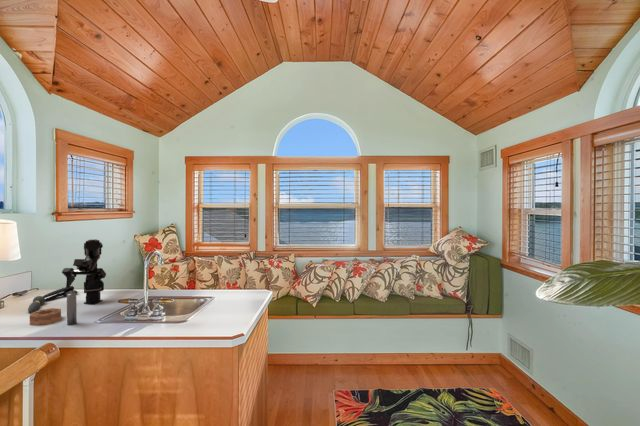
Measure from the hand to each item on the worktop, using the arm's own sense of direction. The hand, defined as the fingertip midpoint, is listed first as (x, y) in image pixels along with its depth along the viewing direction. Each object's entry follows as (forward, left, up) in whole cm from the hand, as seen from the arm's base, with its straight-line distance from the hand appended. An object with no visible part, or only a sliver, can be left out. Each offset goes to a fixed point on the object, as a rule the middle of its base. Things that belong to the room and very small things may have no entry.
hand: (76, 287), depth 162 cm
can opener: (-23, -34, -14) cm, 44 cm away
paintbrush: (-6, -30, -14) cm, 33 cm away
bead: (+9, -8, -14) cm, 18 cm away
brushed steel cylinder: (+10, +7, -14) cm, 18 cm away
